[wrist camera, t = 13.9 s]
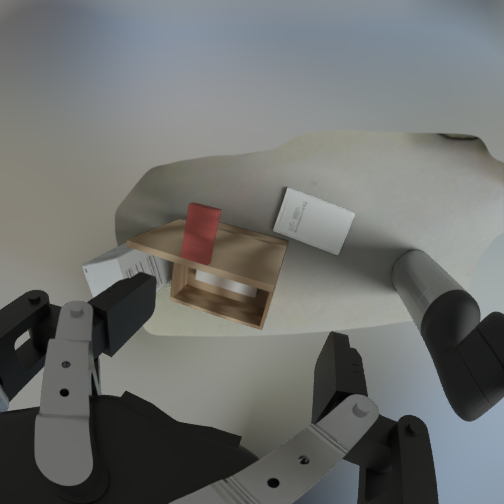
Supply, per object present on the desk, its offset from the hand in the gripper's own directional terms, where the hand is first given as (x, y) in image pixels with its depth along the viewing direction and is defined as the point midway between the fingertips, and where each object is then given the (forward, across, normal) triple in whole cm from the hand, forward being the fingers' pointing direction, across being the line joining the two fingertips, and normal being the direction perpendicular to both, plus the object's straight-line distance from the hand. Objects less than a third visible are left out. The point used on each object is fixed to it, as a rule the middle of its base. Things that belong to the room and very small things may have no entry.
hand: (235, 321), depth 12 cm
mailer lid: (+24, +8, +7) cm, 26 cm away
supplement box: (+38, +25, +18) cm, 49 cm away
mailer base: (+38, +8, +14) cm, 42 cm away
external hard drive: (+39, -4, +2) cm, 39 cm away
